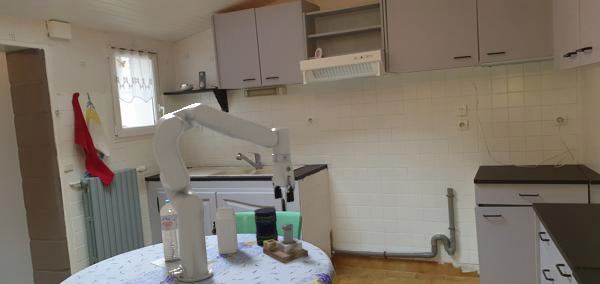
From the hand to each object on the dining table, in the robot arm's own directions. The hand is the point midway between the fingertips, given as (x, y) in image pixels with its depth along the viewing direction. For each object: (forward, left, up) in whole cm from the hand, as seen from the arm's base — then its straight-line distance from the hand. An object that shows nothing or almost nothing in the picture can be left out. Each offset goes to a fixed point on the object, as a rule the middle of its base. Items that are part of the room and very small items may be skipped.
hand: (284, 200), depth 178 cm
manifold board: (-1, +1, -22) cm, 22 cm away
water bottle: (-39, +29, -23) cm, 54 cm away
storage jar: (+1, +20, -23) cm, 30 cm away
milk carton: (-17, +22, -23) cm, 36 cm away
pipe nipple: (+1, 0, -20) cm, 20 cm away
